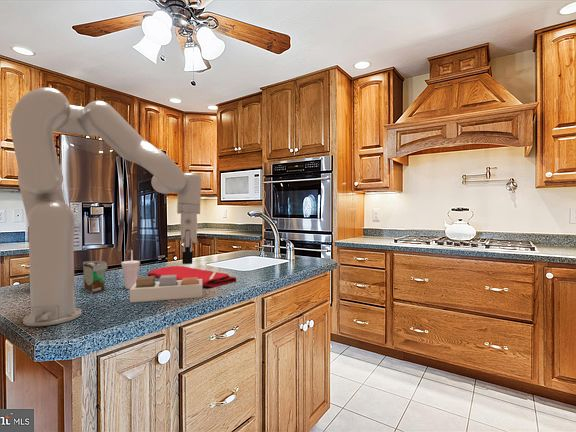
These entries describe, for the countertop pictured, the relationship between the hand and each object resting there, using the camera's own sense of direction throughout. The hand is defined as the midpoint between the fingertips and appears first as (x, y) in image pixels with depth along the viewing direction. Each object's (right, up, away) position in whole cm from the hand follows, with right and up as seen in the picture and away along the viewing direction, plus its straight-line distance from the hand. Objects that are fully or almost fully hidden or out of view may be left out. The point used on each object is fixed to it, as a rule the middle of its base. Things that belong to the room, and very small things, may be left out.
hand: (187, 263), depth 110 cm
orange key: (+1, -9, +1) cm, 9 cm away
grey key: (-6, -7, -1) cm, 10 cm away
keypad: (-6, -11, -1) cm, 12 cm away
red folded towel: (-7, -11, +26) cm, 29 cm away
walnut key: (-13, -7, -3) cm, 15 cm away
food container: (-35, -11, +8) cm, 37 cm away
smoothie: (-24, -11, +11) cm, 29 cm away
